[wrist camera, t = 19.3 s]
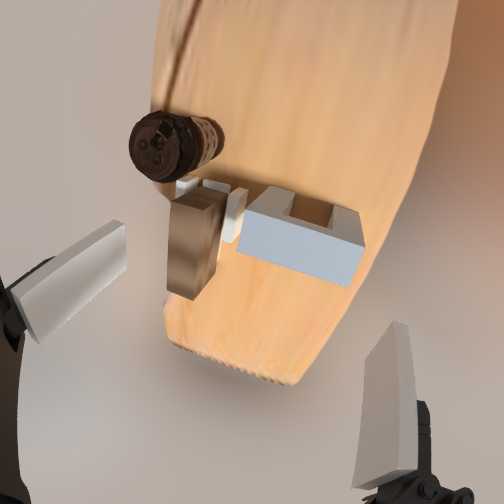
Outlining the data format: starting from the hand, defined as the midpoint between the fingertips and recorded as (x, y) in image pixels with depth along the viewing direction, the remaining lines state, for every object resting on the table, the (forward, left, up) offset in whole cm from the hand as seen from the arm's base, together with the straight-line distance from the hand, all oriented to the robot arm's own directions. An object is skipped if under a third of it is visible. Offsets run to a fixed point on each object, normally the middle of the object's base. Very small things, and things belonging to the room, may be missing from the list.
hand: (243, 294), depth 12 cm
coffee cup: (-2, -16, -28) cm, 32 cm away
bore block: (+5, +1, -28) cm, 28 cm away
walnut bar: (+12, -13, -27) cm, 32 cm away
